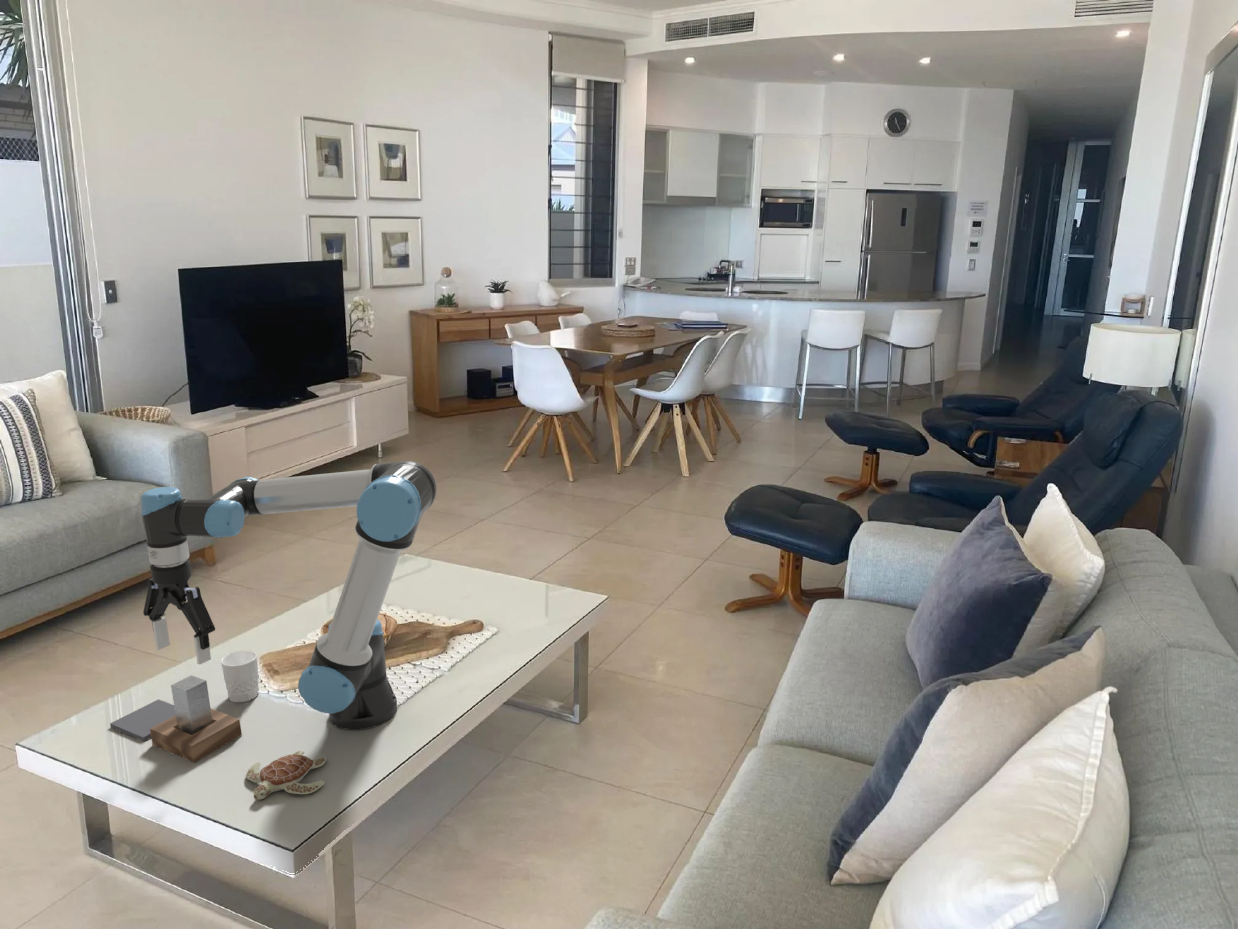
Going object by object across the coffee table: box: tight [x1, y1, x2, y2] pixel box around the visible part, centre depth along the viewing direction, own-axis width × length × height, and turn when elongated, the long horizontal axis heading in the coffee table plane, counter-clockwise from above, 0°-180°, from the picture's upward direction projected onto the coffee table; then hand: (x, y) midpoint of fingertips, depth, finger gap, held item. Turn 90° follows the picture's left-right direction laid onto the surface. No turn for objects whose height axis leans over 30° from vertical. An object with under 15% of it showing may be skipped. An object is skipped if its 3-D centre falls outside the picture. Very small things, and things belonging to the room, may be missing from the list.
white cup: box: [220, 650, 260, 704], centre depth 221 cm, size 8×8×10 cm
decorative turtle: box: [245, 750, 327, 801], centre depth 189 cm, size 18×17×5 cm
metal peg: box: [170, 674, 213, 735], centre depth 202 cm, size 5×5×14 cm
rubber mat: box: [109, 699, 176, 742], centre depth 212 cm, size 12×12×1 cm
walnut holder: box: [150, 708, 243, 764], centre depth 204 cm, size 14×12×4 cm
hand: (183, 654), depth 199 cm, fingers open, 13 cm apart
